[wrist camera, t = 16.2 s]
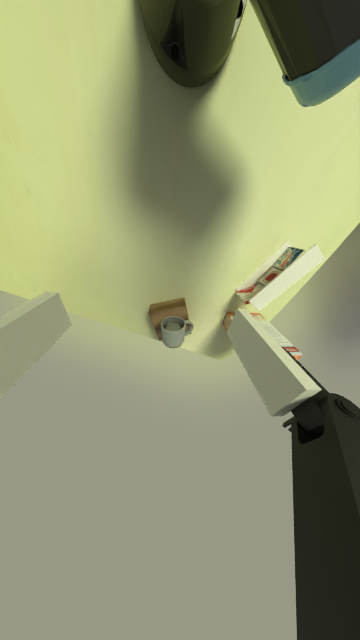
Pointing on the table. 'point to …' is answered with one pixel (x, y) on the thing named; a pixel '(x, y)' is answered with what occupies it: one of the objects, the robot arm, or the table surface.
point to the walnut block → (167, 313)
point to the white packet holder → (278, 274)
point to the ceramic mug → (174, 331)
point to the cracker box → (270, 329)
